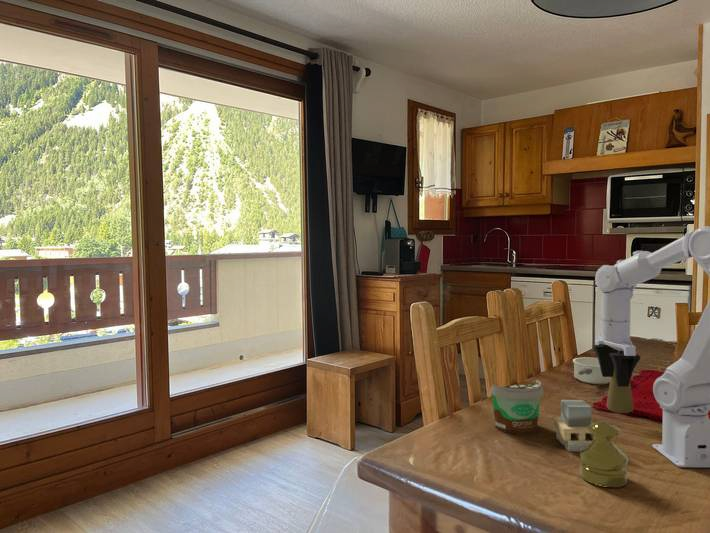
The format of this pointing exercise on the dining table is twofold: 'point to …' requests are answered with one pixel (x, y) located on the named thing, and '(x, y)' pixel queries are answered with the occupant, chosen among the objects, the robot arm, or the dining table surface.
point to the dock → (574, 442)
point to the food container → (517, 407)
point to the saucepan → (589, 371)
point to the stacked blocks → (573, 420)
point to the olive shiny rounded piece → (603, 457)
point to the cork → (619, 397)
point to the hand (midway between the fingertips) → (614, 381)
